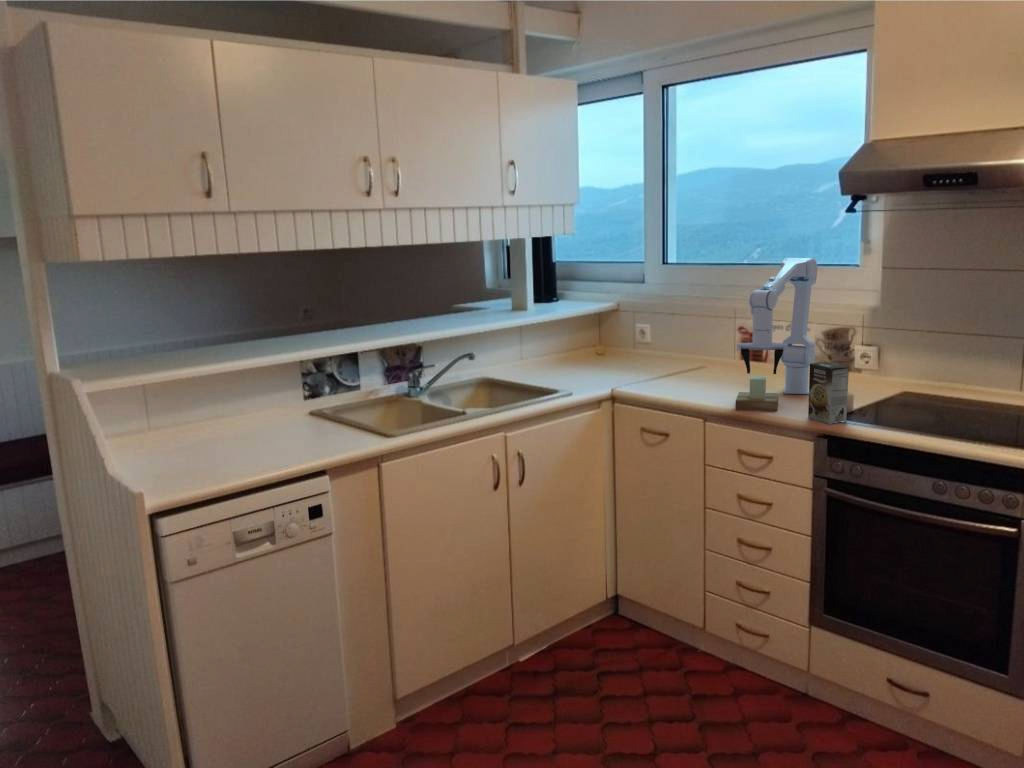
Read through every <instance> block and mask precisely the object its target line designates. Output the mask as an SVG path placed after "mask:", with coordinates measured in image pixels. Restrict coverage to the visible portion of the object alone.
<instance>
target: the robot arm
mask: <svg viewBox="0 0 1024 768" xmlns="http://www.w3.org/2000/svg"><path fill="white" fill-rule="evenodd" d="M817 277H818V263H817V261H816V259H815V258H814V257H785V258H783V260H781V264H780V269H779V272H778V273H777V274H776V275H775V276H770V277H769V278H768V280H767V281H766V282H765V283H764V284H763V285H762V286H761V287H760V288H759V289H755V290H753V291H752V292H751V293H750V296H749V300H748V301H749V302H748V303H749V306H750V313H751V315H752V342H737V344H736V347H737V350H736V351H740V354H741V357H742V358H743V361H744V364H745V367H746V373H747V374H751V361H750V360H751V351H774V352H773V356H774V357H773V358H774V360H773V375H777V370H778V364H779V363H780V361H781V362H782V364H783V366H784V367H785V371H784V373H785V374H784V375H785V377H784V387H783V394H786V395H787V394H789V395H790V394H791V395H809V373H810V364H811V363H815V358H816V351H815V342H814V341H813V340H812V339H810V338H809V336H807V335H808V323H809V316H810V315H809V314H810V304H811V297H812V296H811V295H812V287H813V285H815V284H816V283H817ZM787 283H789V284H792V285H793V287H794V297H793V307H792V308H793V309H792V315H791V316H792V317H791V318H792V319H791V328H790V335H788V337H786V338H785V339H784V340H782V343H781V342H779V343H778V342H773V312H774V311H773V310H774V309H775V308H776V306H777V302H778V301H779V300H778V299H779V297H780V296H781V294H782V293H783V292H784V291H785V289H786V284H787Z"/></svg>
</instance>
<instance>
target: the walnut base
mask: <svg viewBox="0 0 1024 768" xmlns="http://www.w3.org/2000/svg"><path fill="white" fill-rule="evenodd" d="M779 396H780V394H779V393H778V392H776V393H775V392H773V393H772V392H766V396H765V399H755V398H750V391H748V392H745V391H742V392H741V391H739V392H738V393H737V396H736V398H735V411H750V410H761V411H760V412H776V411H777V412H778V406H779Z"/></svg>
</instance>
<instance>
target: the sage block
mask: <svg viewBox="0 0 1024 768" xmlns="http://www.w3.org/2000/svg"><path fill="white" fill-rule="evenodd" d="M766 388H767V377H766V376H755V375H754V376H750V378H749V393H750V398H755V399H765V396H766V393H767V390H766Z"/></svg>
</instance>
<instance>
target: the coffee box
mask: <svg viewBox="0 0 1024 768" xmlns="http://www.w3.org/2000/svg"><path fill="white" fill-rule="evenodd" d="M849 371H850V367H849V366H846V365H844V364H843V365H842V364H838V363H833V362H829V361H824V362H821V361H820V362H813V363H811V364H810V366H809V373H808V387H809V394H808V406H807V407H808V409H807V410H808V412H807V413H808V414H807V417H808V419H810V418H811V420H815V421H816V422H820V421H821V422H820V423H824V424H827V425H833V424H832V423H836V422H841V421H846V422H847V414H848V412H847V395H848V393H849ZM836 424H837V423H836Z"/></svg>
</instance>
